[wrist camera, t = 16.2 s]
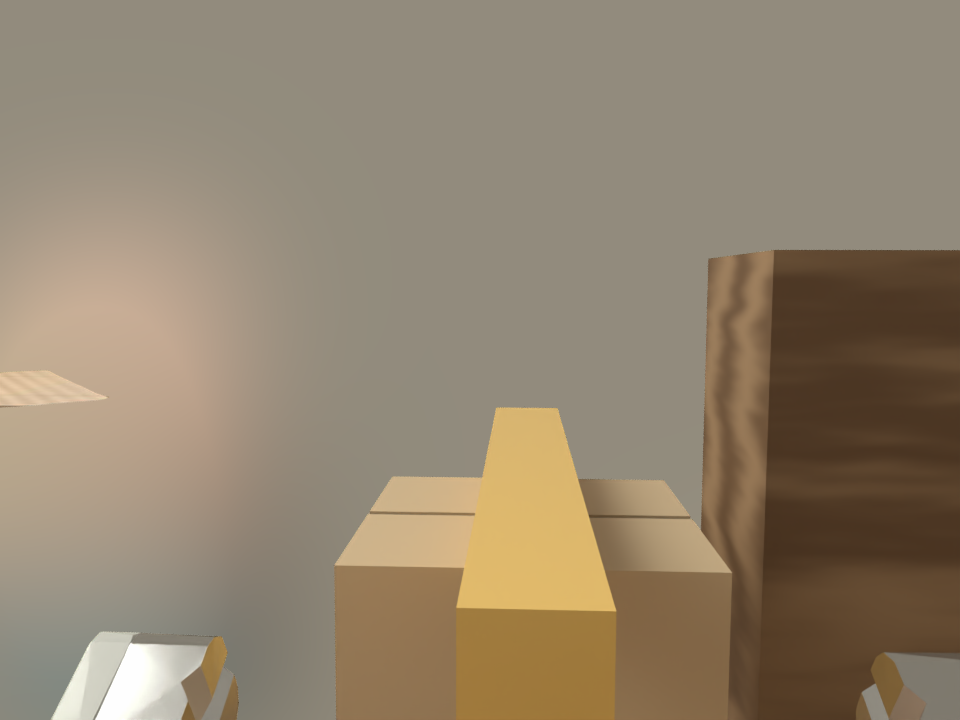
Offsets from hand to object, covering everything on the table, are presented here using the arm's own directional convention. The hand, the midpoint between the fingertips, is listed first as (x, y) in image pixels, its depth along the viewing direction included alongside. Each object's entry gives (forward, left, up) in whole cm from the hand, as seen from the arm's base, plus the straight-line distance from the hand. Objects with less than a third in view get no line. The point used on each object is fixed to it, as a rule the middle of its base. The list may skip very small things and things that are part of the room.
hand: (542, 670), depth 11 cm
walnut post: (+2, -35, -20) cm, 40 cm away
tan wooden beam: (+9, -16, -4) cm, 18 cm away
